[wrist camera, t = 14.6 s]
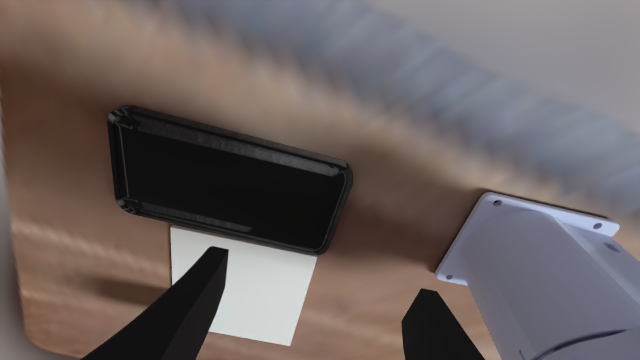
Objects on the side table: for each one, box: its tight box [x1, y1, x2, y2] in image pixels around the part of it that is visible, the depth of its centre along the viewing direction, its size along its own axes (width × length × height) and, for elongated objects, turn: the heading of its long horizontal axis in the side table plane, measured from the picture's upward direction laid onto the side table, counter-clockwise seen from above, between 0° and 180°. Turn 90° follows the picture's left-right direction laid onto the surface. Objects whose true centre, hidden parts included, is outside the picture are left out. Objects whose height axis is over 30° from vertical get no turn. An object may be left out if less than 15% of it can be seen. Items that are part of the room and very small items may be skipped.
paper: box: [170, 225, 318, 346], centre depth 26 cm, size 11×12×1 cm
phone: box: [107, 105, 353, 256], centre depth 20 cm, size 8×1×15 cm
